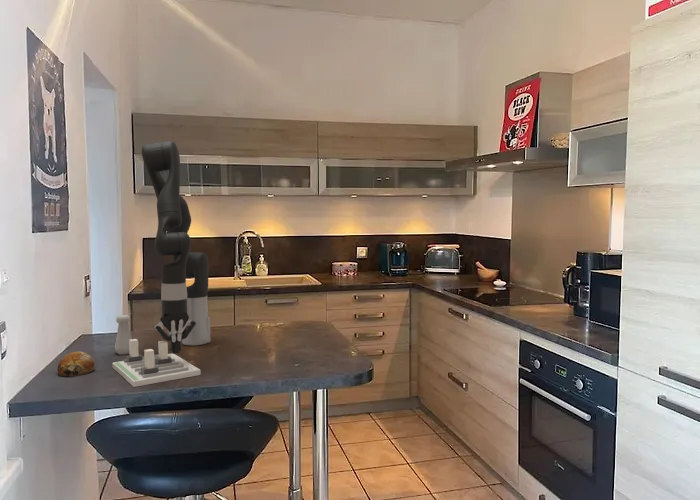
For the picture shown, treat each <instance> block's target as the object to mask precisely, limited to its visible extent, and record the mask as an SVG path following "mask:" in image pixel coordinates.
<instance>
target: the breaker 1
mask: <svg viewBox="0 0 700 500" xmlns="http://www.w3.org/2000/svg"><path fill="white" fill-rule="evenodd" d="M129 352H130V353H129V354H128V355H125V358H126V362H127V363H128V362H135V361H141V360H142V357H143V355H141V354H140V353H139V339H137V338H132V339H130V340H129Z"/></svg>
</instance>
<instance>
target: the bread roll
mask: <svg viewBox="0 0 700 500" xmlns="http://www.w3.org/2000/svg"><path fill="white" fill-rule="evenodd" d="M95 364H96V363H95V360H94V358H93V357H92V356H91V355H90V354H88V353H86V352H84V351H80V350H79V351H71V352H69V353H67V354H66V355H65V356H64V357H62V359H61V360H60V361H59V362H58V365H57V373H58V374H59V375H60V376H61V377H76V376H81V375H86V374H87V375H88V374H89V373H91V372H93V371H94V370H95Z"/></svg>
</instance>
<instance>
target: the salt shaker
mask: <svg viewBox="0 0 700 500" xmlns="http://www.w3.org/2000/svg"><path fill="white" fill-rule="evenodd" d="M115 320H116V323H117V324H118V327H117V332H116V339H115V343H114V349H115V351H116V353H117V355H121V356H123V355H124V356H126V355H130V352H129V340H130V339H133V337H132V333H131V329H130V325H129V323H130V321H131V316H130V315H129V314H128V315H127V314H121V315H118V316H116V319H115Z"/></svg>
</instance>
